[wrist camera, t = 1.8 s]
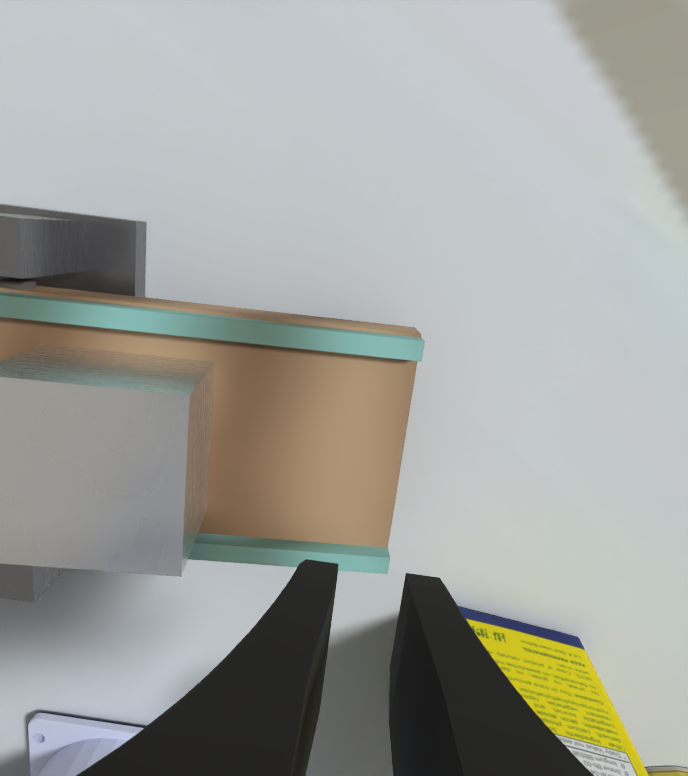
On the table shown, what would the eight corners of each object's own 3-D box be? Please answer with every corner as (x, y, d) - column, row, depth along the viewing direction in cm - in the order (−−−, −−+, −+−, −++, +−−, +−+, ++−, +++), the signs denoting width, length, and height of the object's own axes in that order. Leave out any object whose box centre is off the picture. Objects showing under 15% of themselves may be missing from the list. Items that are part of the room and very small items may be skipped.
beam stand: (146, 222, 19) (82, 218, 15) (139, 545, 22) (85, 614, 18) (1, 204, 19) (-101, 195, 15) (16, 528, 22) (-65, 593, 18)
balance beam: (415, 321, 18) (425, 331, 16) (379, 551, 20) (386, 581, 18) (-332, 237, 16) (-410, 238, 14) (-279, 499, 18) (-341, 528, 17)
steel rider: (206, 511, 18) (181, 576, 15) (46, 498, 18) (-17, 561, 14) (214, 361, 17) (189, 395, 13) (42, 343, 16) (-30, 373, 13)
